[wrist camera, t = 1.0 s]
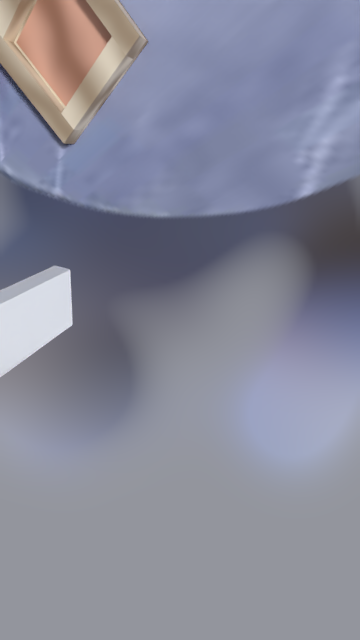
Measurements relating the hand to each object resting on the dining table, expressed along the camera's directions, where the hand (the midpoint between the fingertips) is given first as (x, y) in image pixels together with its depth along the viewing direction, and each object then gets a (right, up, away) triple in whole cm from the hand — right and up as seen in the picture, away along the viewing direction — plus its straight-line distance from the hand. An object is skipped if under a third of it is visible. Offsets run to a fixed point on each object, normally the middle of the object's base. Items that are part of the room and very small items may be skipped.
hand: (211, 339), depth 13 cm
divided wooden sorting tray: (-16, +33, +20) cm, 42 cm away
